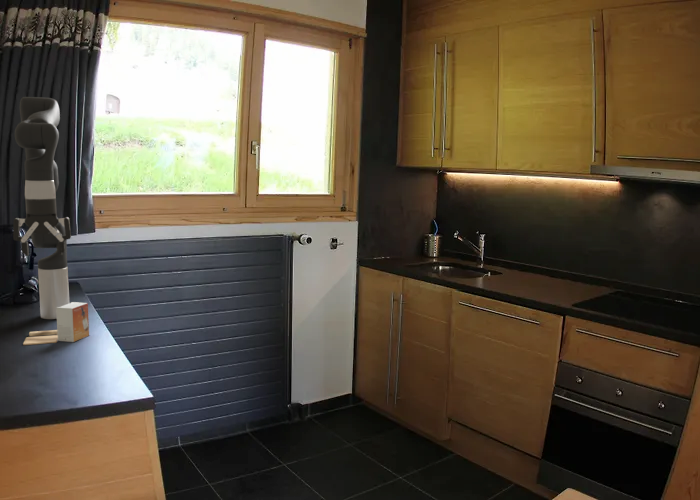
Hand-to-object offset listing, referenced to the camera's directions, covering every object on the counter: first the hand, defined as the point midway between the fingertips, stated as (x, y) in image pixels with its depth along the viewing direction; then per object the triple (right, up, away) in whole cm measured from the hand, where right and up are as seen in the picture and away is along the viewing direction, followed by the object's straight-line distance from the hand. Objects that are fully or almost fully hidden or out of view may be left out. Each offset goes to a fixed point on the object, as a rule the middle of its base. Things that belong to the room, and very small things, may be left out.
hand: (43, 255), depth 174 cm
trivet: (-8, -26, +15) cm, 31 cm away
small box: (0, -26, +18) cm, 32 cm away
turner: (-8, -25, +22) cm, 35 cm away
